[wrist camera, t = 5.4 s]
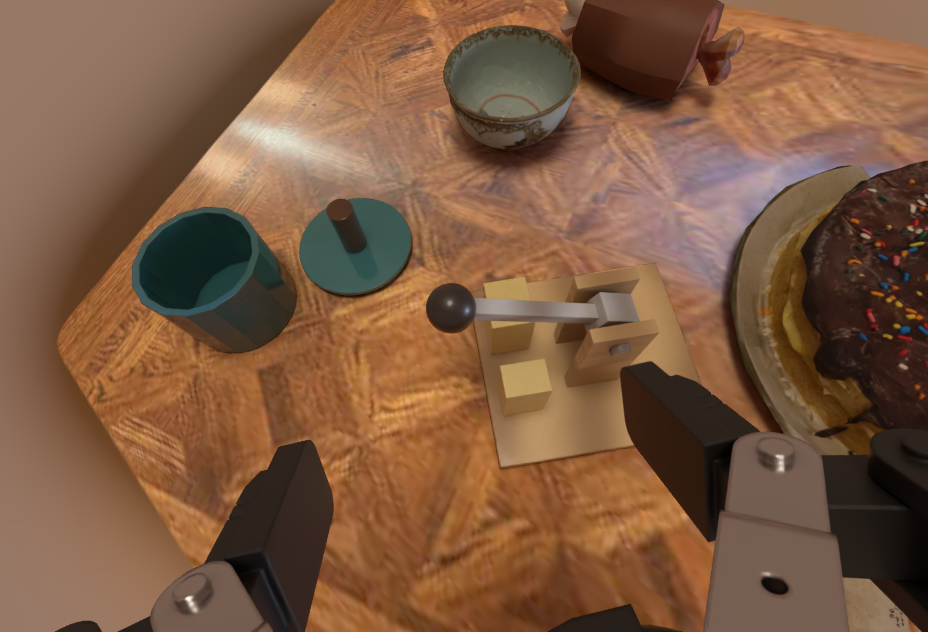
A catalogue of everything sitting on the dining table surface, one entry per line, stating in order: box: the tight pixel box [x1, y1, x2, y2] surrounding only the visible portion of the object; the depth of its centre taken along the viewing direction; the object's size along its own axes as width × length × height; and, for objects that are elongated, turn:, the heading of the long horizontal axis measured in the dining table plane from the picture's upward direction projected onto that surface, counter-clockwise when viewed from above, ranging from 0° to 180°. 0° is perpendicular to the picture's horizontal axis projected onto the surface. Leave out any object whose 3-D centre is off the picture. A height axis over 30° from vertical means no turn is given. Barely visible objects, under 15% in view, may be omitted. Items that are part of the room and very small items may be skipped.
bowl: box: [443, 25, 581, 151], centre depth 50 cm, size 14×13×8 cm
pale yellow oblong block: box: [483, 277, 535, 354], centre depth 39 cm, size 3×4×6 cm
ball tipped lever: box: [426, 283, 640, 333], centre depth 30 cm, size 15×3×3 cm, turn 99°
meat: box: [560, 0, 744, 101], centre depth 52 cm, size 20×12×10 cm, turn 55°
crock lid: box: [299, 198, 411, 295], centre depth 45 cm, size 11×11×7 cm
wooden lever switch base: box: [471, 263, 702, 469], centre depth 37 cm, size 18×16×12 cm
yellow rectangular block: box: [498, 359, 552, 416], centre depth 37 cm, size 3×2×6 cm
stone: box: [843, 578, 910, 632], centre depth 32 cm, size 6×6×12 cm
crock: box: [132, 207, 296, 353], centre depth 42 cm, size 10×10×8 cm
